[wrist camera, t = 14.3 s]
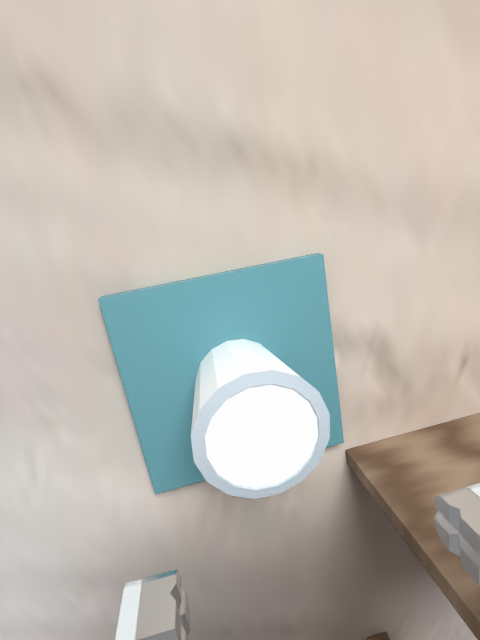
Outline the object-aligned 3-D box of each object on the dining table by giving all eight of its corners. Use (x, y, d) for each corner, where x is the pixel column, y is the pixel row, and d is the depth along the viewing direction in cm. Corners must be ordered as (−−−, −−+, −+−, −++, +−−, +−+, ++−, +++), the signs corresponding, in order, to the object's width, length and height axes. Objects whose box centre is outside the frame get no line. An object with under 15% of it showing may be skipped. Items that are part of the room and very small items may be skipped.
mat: (316, 253, 23) (323, 254, 22) (337, 435, 27) (343, 442, 26) (101, 296, 21) (98, 299, 20) (156, 484, 25) (155, 494, 24)
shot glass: (203, 439, 24) (215, 520, 17) (171, 349, 22) (170, 400, 15) (297, 406, 24) (343, 471, 18) (274, 315, 23) (316, 350, 16)
